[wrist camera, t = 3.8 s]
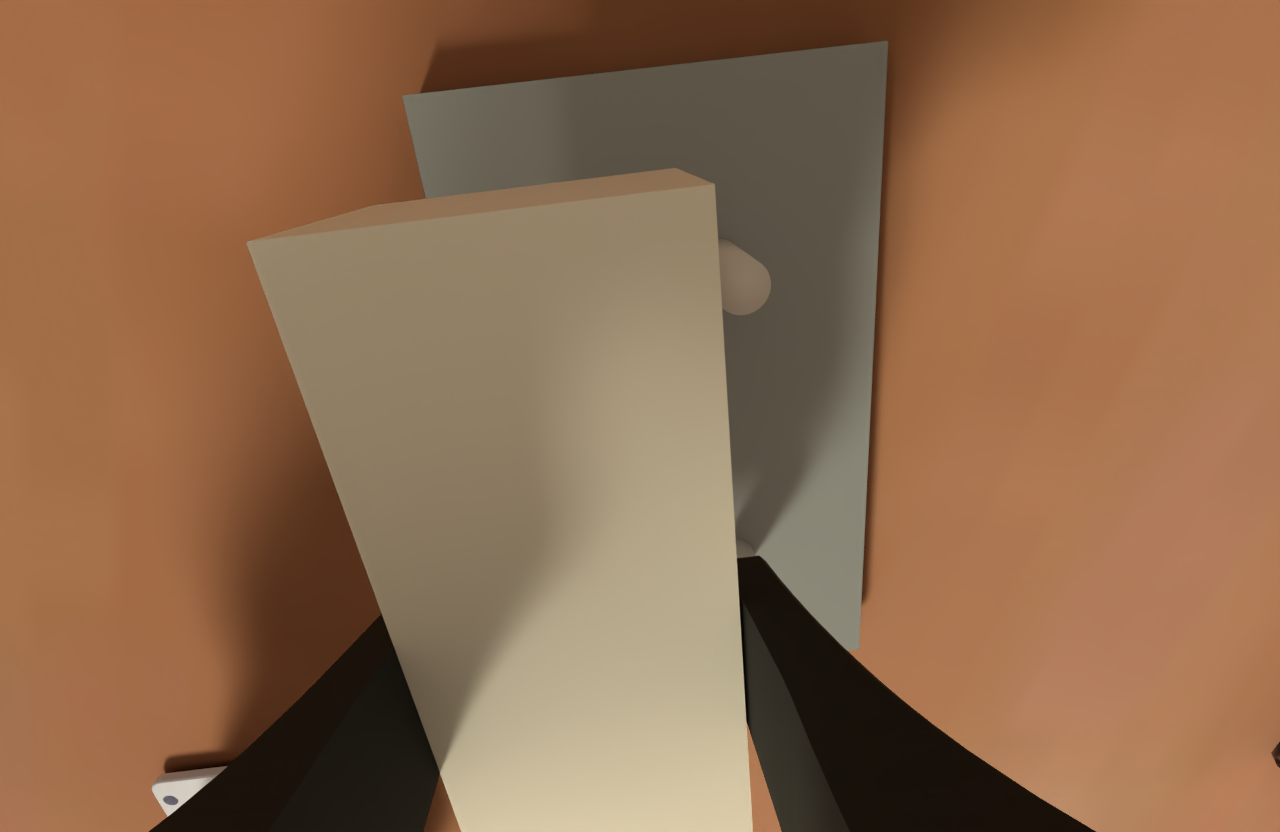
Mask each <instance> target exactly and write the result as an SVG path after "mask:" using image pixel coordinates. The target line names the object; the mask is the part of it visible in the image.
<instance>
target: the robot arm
mask: <svg viewBox="0 0 1280 832" xmlns="http://www.w3.org/2000/svg"><path fill="white" fill-rule="evenodd" d="M737 571H738V588H739V605H740V622H741V639H742V656H743V673H744V690H745V707H746V721H747V724H748V727H749V730H750V733H751V736H752V739H753V743H754V746H755V749H756V752H757V755H758V758H759V761H760V765H761V768H762V771H763V774H764V777H765V780H766V783H767V786H768V789H769V793H770V796H771V799H772V802H773V805H774V808H775V811H776V814H777V818H778V821H779V824H780V827H781V830H782V832H1096V831H1094V830H1092V829H1091V828H1089V827H1087V826H1086V825H1084V824H1082V823H1081V822H1079V821H1077V820H1076V819H1074V818H1072V817H1071V816H1069V815H1067V814H1066V813H1064V812H1062V811H1061V810H1059V809H1057V808H1056V807H1054V806H1052V805H1050V804H1049V803H1047V802H1045V801H1044V800H1042V799H1040V798H1039V797H1037V796H1036V795H1034V794H1033V793H1031V792H1030V791H1028V790H1027V789H1025V788H1024V787H1022V786H1021V785H1019V784H1018V783H1016V782H1015V781H1013V780H1012V779H1010V778H1009V777H1007V776H1006V775H1004V774H1003V773H1001V772H1000V771H998V770H997V769H995V768H994V767H992V766H991V765H989V764H988V763H986V762H985V761H983V760H982V759H980V758H979V757H977V756H976V755H974V754H973V753H971V752H970V751H968V750H967V749H965V748H964V747H963V746H961V745H960V744H959V743H957V742H956V741H955V740H953V739H952V738H951V737H949V736H948V735H947V734H945V733H944V732H942V731H941V730H940V729H938V728H937V727H936V726H934V725H933V724H932V723H931V722H929V721H928V720H927V719H925V718H924V717H923V716H922V715H920V714H919V713H918V712H917V711H915V710H914V709H913V708H912V707H910V706H909V705H908V704H907V703H905V702H904V701H903V700H902V699H901V698H899V697H898V696H897V695H896V694H895V693H893V692H892V691H891V690H890V689H889V688H888V687H886V686H885V685H884V684H883V683H882V682H881V681H879V680H878V679H877V678H876V677H875V676H874V675H873V674H872V673H871V672H869V671H868V670H867V669H866V668H865V667H864V666H863V665H862V664H861V663H860V662H859V661H857V660H856V659H855V658H854V657H853V656H852V655H851V654H850V653H849V652H848V651H847V650H846V649H845V648H844V647H843V646H842V645H841V644H840V643H839V642H838V641H837V640H836V639H835V638H834V637H833V636H832V635H831V634H830V633H829V632H828V631H827V630H826V629H825V628H824V627H823V626H822V625H821V624H820V623H819V622H818V621H817V620H816V619H815V618H814V617H813V616H812V615H811V614H810V612H809V611H808V610H807V609H806V608H805V607H804V606H803V605H802V604H801V603H800V601H799V600H798V599H797V598H796V597H795V596H794V595H793V594H792V592H791V591H790V590H789V589H788V588H787V587H786V585H785V584H784V583H783V582H782V581H781V579H780V578H779V577H778V576H777V575H776V573H775V572H774V571H773V570H772V568H771V567H770V566H769V564H768V563H767V562H766V560H764V559H763V558H762V557H760V556H751V557H743V558H737ZM439 775H440V771H439V768H438V766H437V763H436V760H435V757H434V755H433V752H432V749H431V746H430V744H429V741H428V738H427V736H426V733H425V730H424V727H423V725H422V722H421V719H420V716H419V714H418V711H417V708H416V705H415V703H414V700H413V697H412V695H411V692H410V689H409V686H408V684H407V681H406V678H405V675H404V673H403V670H402V667H401V665H400V662H399V659H398V656H397V654H396V651H395V648H394V646H393V643H392V640H391V638H390V635H389V632H388V630H387V627H386V624H385V621H384V619H383V616H382V614H381V615H380V616H379V617H378V618H377V619H376V620H375V621H374V622H373V623H372V624H371V626H370V627H369V628H368V629H367V630H366V631H365V632H364V633H363V634H362V635H361V636H360V637H359V638H358V639H357V640H356V641H355V642H354V643H353V644H352V645H351V647H350V648H349V649H348V650H347V651H346V652H345V653H344V654H343V655H342V656H341V657H340V658H339V659H338V660H337V661H336V662H335V663H334V664H333V665H332V666H331V667H330V668H329V669H328V670H327V671H326V672H325V673H324V674H323V676H322V677H321V678H320V679H319V680H318V681H317V682H316V683H315V684H314V685H313V686H312V687H311V688H310V689H309V690H308V691H307V692H306V693H305V694H304V695H303V696H302V697H301V698H300V699H299V700H298V701H297V702H296V703H295V704H294V705H293V706H292V707H290V708H289V709H288V710H287V711H286V712H285V713H284V714H283V715H282V716H281V717H280V718H279V719H278V720H277V721H276V722H275V723H274V724H273V725H272V726H271V727H270V728H268V729H267V730H266V731H265V732H264V733H263V734H262V735H261V736H260V737H259V738H258V739H257V740H256V741H255V742H254V743H253V744H252V745H251V746H250V747H249V748H248V749H246V750H245V751H244V752H243V753H242V754H241V755H240V756H239V757H238V758H236V759H235V760H234V761H233V762H232V763H231V764H230V765H229V766H223V767H214V768H206V769H198V770H190V771H181V772H173V773H166V774H162V775H160V776H159V777H158V778H157V780H156V781H155V782H154V784H153V785H152V791H153V793H154V795H155V797H156V798H157V800H158V802H159V803H160V805H161V806H162V808H163V810H164V811H165V813H166V814H167V816H168V817H167V818H166V819H164V820H163V821H162V822H161V823H159V824H158V825H157V826H155V827H154V828H153V829H152V830H150V831H149V832H423V830H424V827H425V823H426V820H427V816H428V813H429V810H430V806H431V803H432V799H433V796H434V792H435V789H436V785H437V782H438V778H439Z"/></svg>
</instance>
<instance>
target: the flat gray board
mask: <svg viewBox="0 0 1280 832" xmlns="http://www.w3.org/2000/svg"><path fill="white" fill-rule="evenodd" d="M887 58H888V41H879V42H871V43H862V44H853V45H844V46H835V47H826V48H818V49H809V50H800V51H791V52H782V53H773V54H765V55H756V56H747V57H738V58H729V59H720V60H711V61H703V62H694V63H685V64H676V65H667V66H658V67H650V68H641V69H632V70H623V71H614V72H605V73H597V74H588V75H579V76H570V77H561V78H552V79H544V80H535V81H526V82H517V83H508V84H499V85H491V86H482V87H473V88H464V89H455V90H446V91H438V92H429V93H420V94H411V95H402V97H403V102H404V106H405V110H406V115H407V119H408V123H409V128H410V132H411V136H412V141H413V145H414V150H415V154H416V158H417V163H418V167H419V171H420V176H421V180H422V184H423V189H424V193H425V197H426V199H428V198H436V197H444V196H452V195H460V194H468V193H476V192H484V191H492V190H501V189H509V188H517V187H525V186H533V185H541V184H549V183H557V182H565V181H573V180H582V179H590V178H598V177H606V176H614V175H622V174H630V173H638V172H646V171H654V170H663V169H671V168H677V169H680V170H682V171H684V172H687V173H689V174H692V175H694V176H697V177H699V178H701V179H704V180H706V181H709V182H711V183H714V184H715V196H716V213H717V230H718V247H719V264H720V281H721V298H722V315H723V332H724V349H725V366H726V383H727V400H728V417H729V435H730V452H731V469H732V486H733V503H734V520H735V537H736V554H737V558H743V557H751V556H760V557H762V558H763V559H764V560H766V562H767V563H768V564H769V566H770V567H771V568H772V570H773V571H774V572H775V573H776V575H777V576H778V577H779V578H780V579H781V581H782V582H783V583H784V584H785V585H786V587H787V588H788V589H789V590H790V591H791V592H792V594H793V595H794V596H795V597H796V598H797V599H798V600H799V601H800V603H801V604H802V605H803V606H804V607H805V608H806V609H807V610H808V611H809V612H810V614H811V615H812V616H813V617H814V618H815V619H816V620H817V621H818V622H819V623H820V624H821V625H822V626H823V627H824V628H825V629H826V630H827V631H828V632H829V633H830V634H831V635H832V636H833V637H834V638H835V639H836V640H837V641H838V642H839V643H840V644H841V645H842V646H843V647H844V648H845V649H846V650H847V651H849V650H858V649H859V641H860V620H861V599H862V578H863V557H864V537H865V516H866V495H867V474H868V453H869V432H870V412H871V391H872V370H873V349H874V328H875V308H876V287H877V266H878V245H879V224H880V204H881V183H882V162H883V141H884V120H885V100H886V79H887Z"/></svg>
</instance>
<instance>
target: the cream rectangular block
mask: <svg viewBox="0 0 1280 832" xmlns="http://www.w3.org/2000/svg"><path fill="white" fill-rule="evenodd" d="M246 244H247V246H248V249H249V252H250V255H251V257H252V260H253V263H254V266H255V268H256V271H257V274H258V277H259V279H260V282H261V285H262V288H263V290H264V293H265V296H266V298H267V301H268V304H269V307H270V309H271V312H272V315H273V318H274V320H275V323H276V326H277V329H278V331H279V334H280V337H281V340H282V342H283V345H284V348H285V350H286V353H287V356H288V359H289V361H290V364H291V367H292V370H293V372H294V375H295V378H296V381H297V383H298V386H299V389H300V391H301V394H302V397H303V400H304V402H305V405H306V408H307V411H308V413H309V416H310V419H311V422H312V424H313V427H314V430H315V433H316V435H317V438H318V441H319V443H320V446H321V449H322V452H323V454H324V457H325V460H326V463H327V465H328V468H329V471H330V474H331V476H332V479H333V482H334V485H335V487H336V490H337V493H338V495H339V498H340V501H341V504H342V506H343V509H344V512H345V515H346V517H347V520H348V523H349V526H350V528H351V531H352V534H353V537H354V539H355V542H356V545H357V547H358V550H359V553H360V556H361V558H362V561H363V564H364V567H365V569H366V572H367V575H368V578H369V580H370V583H371V586H372V589H373V591H374V594H375V597H376V599H377V602H378V605H379V608H380V610H381V613H382V616H383V619H384V621H385V624H386V627H387V630H388V632H389V635H390V638H391V640H392V643H393V646H394V648H395V651H396V654H397V656H398V659H399V662H400V665H401V667H402V670H403V673H404V675H405V678H406V681H407V684H408V686H409V689H410V692H411V695H412V697H413V700H414V703H415V705H416V708H417V711H418V714H419V716H420V719H421V722H422V725H423V727H424V730H425V733H426V736H427V738H428V741H429V744H430V746H431V749H432V752H433V755H434V757H435V760H436V763H437V766H438V768H439V771H440V775H441V777H442V780H443V783H444V786H445V788H446V791H447V794H448V796H449V799H450V802H451V805H452V807H453V810H454V813H455V816H456V818H457V821H458V824H459V827H460V829H461V832H753V827H752V810H751V793H750V776H749V759H748V742H747V724H746V707H745V690H744V673H743V656H742V639H741V622H740V605H739V588H738V571H737V554H736V537H735V520H734V503H733V486H732V469H731V452H730V435H729V417H728V400H727V383H726V366H725V349H724V332H723V315H722V298H721V281H720V264H719V247H718V230H717V213H716V196H715V184H714V183H711V182H709V181H706V180H704V179H701V178H699V177H697V176H694V175H692V174H689V173H687V172H684V171H682V170H680V169H677V168H671V169H663V170H654V171H646V172H638V173H630V174H622V175H614V176H606V177H598V178H590V179H582V180H573V181H565V182H557V183H549V184H541V185H533V186H525V187H517V188H509V189H501V190H492V191H484V192H476V193H468V194H460V195H452V196H444V197H436V198H428V199H420V200H411V201H403V202H395V203H387V204H379V205H373V206H369V207H366V208H362V209H359V210H355V211H352V212H348V213H345V214H341V215H338V216H334V217H331V218H327V219H324V220H321V221H317V222H314V223H310V224H307V225H303V226H300V227H296V228H293V229H289V230H286V231H282V232H279V233H275V234H272V235H268V236H265V237H261V238H258V239H254V240H251V241H247V242H246Z"/></svg>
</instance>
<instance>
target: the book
mask: <svg viewBox="0 0 1280 832" xmlns="http://www.w3.org/2000/svg"><path fill="white" fill-rule="evenodd" d="M1272 755H1273V757H1274V760H1275V762H1276V764H1277V766H1278V767H1279V768H1280V742H1279V744H1278V745H1277V746H1276V747H1275V749H1274V750H1273V751H1272Z"/></svg>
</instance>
